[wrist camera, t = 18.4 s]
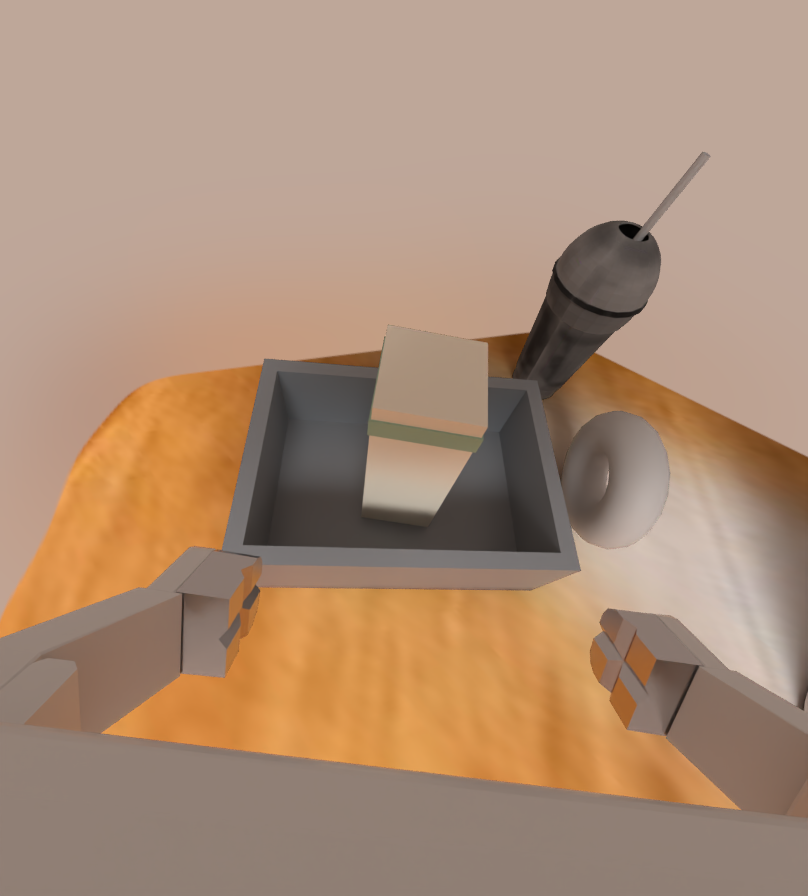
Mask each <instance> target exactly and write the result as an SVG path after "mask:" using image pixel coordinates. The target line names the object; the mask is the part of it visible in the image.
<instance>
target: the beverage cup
mask: <svg viewBox="0 0 808 896" xmlns="http://www.w3.org/2000/svg"><path fill="white" fill-rule="evenodd" d="M709 158H710V155H709V154H708V153H706V152H702V153H701V154H700V156H699V157H698V158H697V159H696V161H695V162H694V163H693V164H692V166H691V167H690V168H689V169H688V171H687V172H686V173H685V174H684V176H683V177H682V178H681V179H680V181H679V182H678V183H677V184H676V186H675V187H674V188H673V189H672V191H671V192H670V193H669V195H668V196H667V197H666V198H665V199H664V201H663V202H662V203H661V204H660V206H659V207H658V208H657V210H656V211H655V212H654V213H653V215H652V216H651V217H650V218H649V219H648V221H647V222H646V223H645V224H644V226H643V227H642V226H640V225H638V224H636V223H632V222H628V221H610V222H607V223H604V224H600V225H597V226H594V227H593V228H590V229H589V230H587V231H586V232H584V233H583V234H582V235H580V236H579V237H578V238H577V239H575V240H574V241H573V242H572V243H571V244H570V245H569V246H568V247H567V249H566V250H565V251H564V252H563V254H562V256H561V257H560V258H559V259H558V260H557V261H556V262H555V265H554V267H553V270H552V271H553V274H552V276H551V279H550V282H549V286H548V289H547V292H546V297H545V299H544V302H543V304H542V306H541V309H540V311H539V313H538V316H537V318H536V320H535V323H534V325H533V327H532V330H531V332H530V334H529V336H528V339H527V341H526V343H525V345H524V348H523V350H522V352H521V355H520V357H519V359H518V362H517V366H516V368H515V370H514V373H513V379H523V380H536V381H538V386H539V390H540V394H541V399H546V398H549V397H551V396H552V395H553V394H554V392H556V391H557V390H558V389H559V388H561V387H562V385H563V384H564V383H565V382H566V381H567V380H568V379H569V378H570V377H571V376H572V375H573V374H574V373H575V372H576V371H577V370H578V369H579V368H580V367H581V366H582V365H583V364H584V363H585V362H586V361H587V360H588V359H589V358H590V356H591V355H592V354H593V353H594V352H595V351H596V350H597V349H598V348H599V347H600V346H601V345H602V344H603V343H604V342H605V341H606V340H607V339H608V338H609V337H610V336H611V335H612V334H613V333H614V332H615V331H617V330H619V329H620V328H621V327H622V326H624V325H625V324H626V323H627V322H628V321H629V320H631V318H632V317H633V316H634V315H636V314H638V313H640V312H641V311H642V309H643V308H644V307H645V306H646V304H647V301H648V298H649V297H650V296H651V294H652V293H653V290H654V289H655V287H656V284H657V281H658V278H659V273H660V265H661V255H660V251H659V247H658V245H657V242H656V240H655V239H654V237H653V236H652V235H651V233H650V232H649V231H650V230H651V229H652V227H653V226H654V225H655V223H656V222H657V221H658V220H659V219H660V218H661V216H662V215H663V214H664V212H665V211H666V210H667V209H668V208H669V207H670V205H671V204H672V203H673V202H674V200H675V199H676V198H677V197H678V196H679V194H680V193H681V192H682V191H683V190H684V188H685V187H686V186H687V185H688V183H689V182H690V181H691V179H693V177H694V176H695V175H696V174H697V172H698V171H699V170H700V169H701V167H702V166H703V165H704V164H705V163H706V161H707V160H708V159H709Z"/></svg>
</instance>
